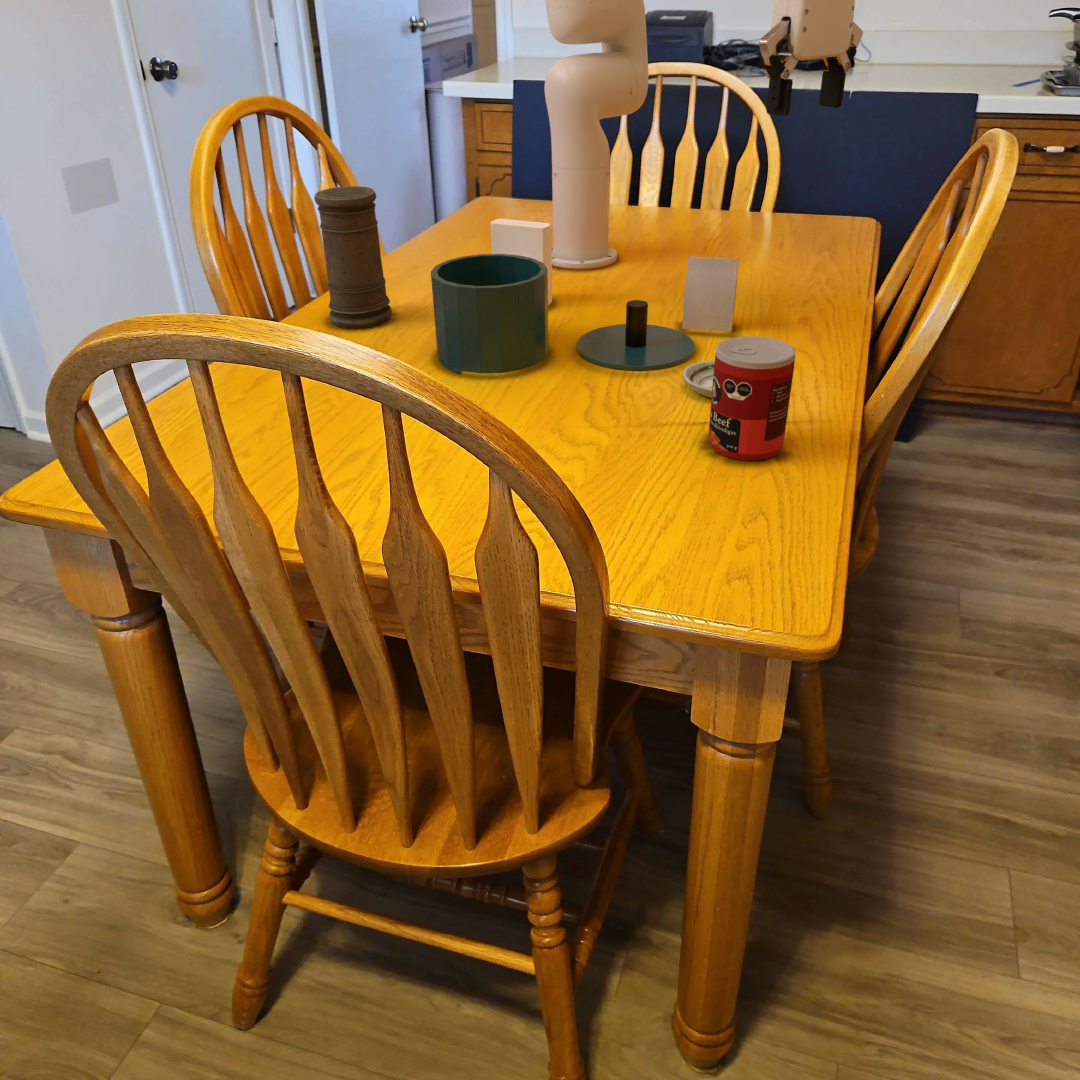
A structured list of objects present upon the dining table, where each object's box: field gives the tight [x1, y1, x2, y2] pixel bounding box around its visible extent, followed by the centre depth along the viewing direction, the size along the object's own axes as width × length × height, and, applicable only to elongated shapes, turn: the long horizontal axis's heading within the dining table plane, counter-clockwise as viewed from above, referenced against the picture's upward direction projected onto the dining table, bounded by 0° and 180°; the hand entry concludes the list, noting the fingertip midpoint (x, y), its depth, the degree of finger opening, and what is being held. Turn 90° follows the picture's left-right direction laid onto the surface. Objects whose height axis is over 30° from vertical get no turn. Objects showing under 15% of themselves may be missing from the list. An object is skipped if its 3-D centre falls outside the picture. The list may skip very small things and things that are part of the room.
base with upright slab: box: [489, 218, 553, 306], centre depth 138 cm, size 9×9×12 cm
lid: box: [576, 299, 696, 372], centre depth 122 cm, size 16×16×7 cm
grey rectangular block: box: [681, 256, 740, 333], centre depth 128 cm, size 4×7×10 cm, turn 76°
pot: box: [430, 253, 550, 375], centre depth 121 cm, size 15×15×12 cm
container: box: [313, 185, 393, 329], centre depth 132 cm, size 9×9×18 cm
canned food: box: [708, 335, 796, 462], centre depth 97 cm, size 8×8×11 cm
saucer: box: [681, 359, 715, 399], centre depth 111 cm, size 10×10×2 cm
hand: (804, 110), depth 116 cm, fingers open, 9 cm apart
